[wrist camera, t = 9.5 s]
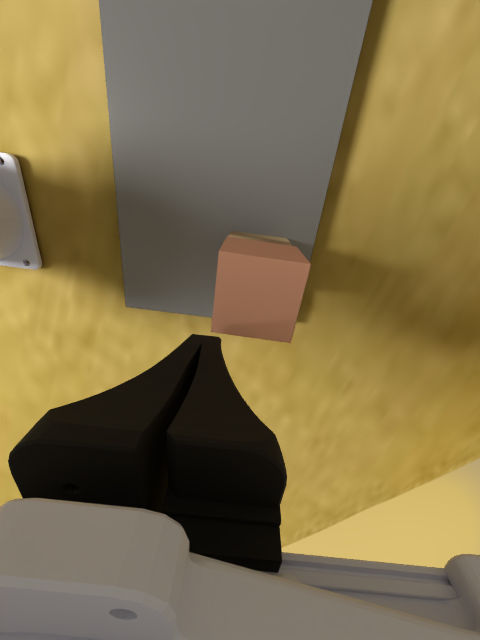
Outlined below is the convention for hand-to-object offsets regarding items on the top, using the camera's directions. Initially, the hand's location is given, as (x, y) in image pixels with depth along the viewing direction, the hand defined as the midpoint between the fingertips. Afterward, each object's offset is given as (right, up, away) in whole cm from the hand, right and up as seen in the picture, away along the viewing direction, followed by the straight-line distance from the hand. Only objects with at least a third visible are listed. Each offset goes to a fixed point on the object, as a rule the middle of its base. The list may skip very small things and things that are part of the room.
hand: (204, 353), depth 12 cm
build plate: (0, +11, +6) cm, 13 cm away
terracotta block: (+3, +4, +3) cm, 6 cm away
